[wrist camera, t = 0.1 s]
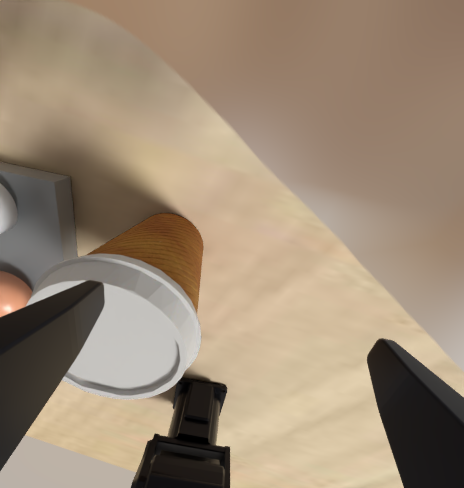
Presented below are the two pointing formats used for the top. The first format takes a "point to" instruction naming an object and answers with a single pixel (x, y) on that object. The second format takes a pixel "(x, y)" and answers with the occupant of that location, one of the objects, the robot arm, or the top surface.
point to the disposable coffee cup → (137, 308)
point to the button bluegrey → (7, 210)
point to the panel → (37, 223)
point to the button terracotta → (12, 293)
